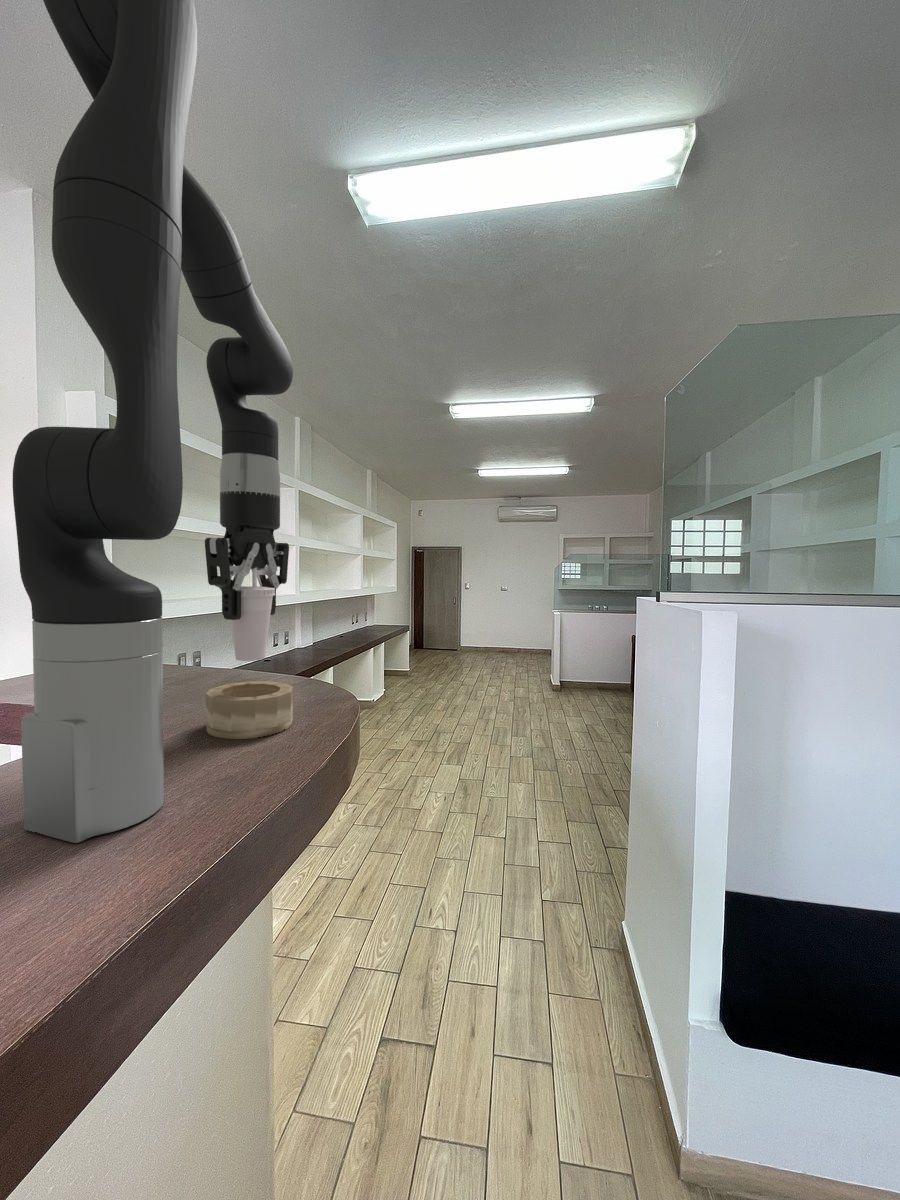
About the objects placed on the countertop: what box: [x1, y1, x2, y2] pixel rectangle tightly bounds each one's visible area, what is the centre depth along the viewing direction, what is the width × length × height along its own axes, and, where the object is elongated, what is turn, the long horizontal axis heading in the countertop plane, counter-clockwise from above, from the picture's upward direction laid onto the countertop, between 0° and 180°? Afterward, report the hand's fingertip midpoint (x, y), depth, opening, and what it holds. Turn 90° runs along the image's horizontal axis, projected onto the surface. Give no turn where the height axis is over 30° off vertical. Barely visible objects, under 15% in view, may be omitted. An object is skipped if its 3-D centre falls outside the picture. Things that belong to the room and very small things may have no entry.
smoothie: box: [230, 567, 275, 662], centre depth 69 cm, size 6×6×14 cm
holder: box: [205, 680, 294, 740], centre depth 70 cm, size 11×11×5 cm
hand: (250, 616), depth 69 cm, fingers closed on smoothie, 6 cm apart
